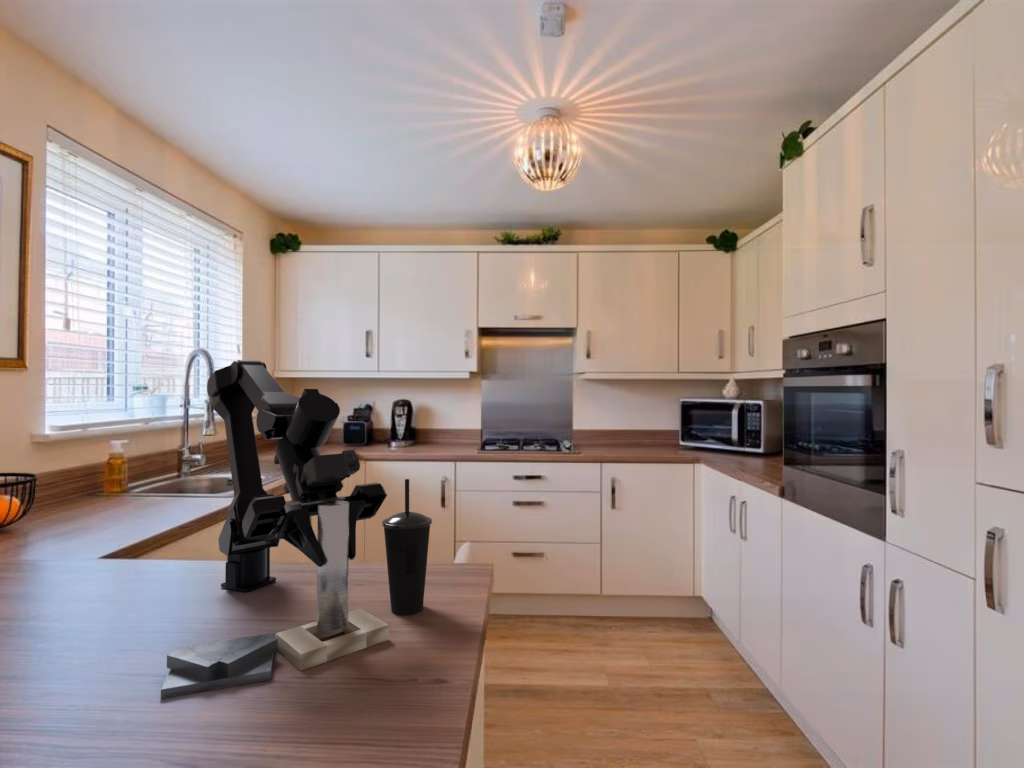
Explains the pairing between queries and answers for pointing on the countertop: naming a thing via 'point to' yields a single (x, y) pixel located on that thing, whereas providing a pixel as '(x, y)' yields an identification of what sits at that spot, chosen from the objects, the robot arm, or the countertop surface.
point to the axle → (333, 565)
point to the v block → (219, 664)
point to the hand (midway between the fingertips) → (337, 561)
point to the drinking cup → (407, 558)
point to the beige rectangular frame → (331, 640)
